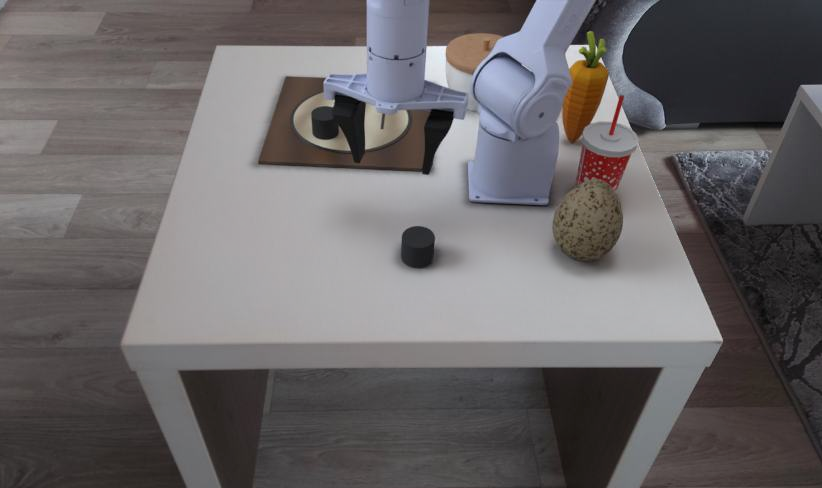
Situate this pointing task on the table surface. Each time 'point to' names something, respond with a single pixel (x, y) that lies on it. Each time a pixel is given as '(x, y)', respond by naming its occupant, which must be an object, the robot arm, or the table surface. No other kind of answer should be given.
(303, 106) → the face board
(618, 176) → the beverage cup
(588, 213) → the decorative egg
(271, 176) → the table surface
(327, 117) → the eye puck
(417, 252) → the eye puck
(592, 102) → the carrot
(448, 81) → the trinket box
